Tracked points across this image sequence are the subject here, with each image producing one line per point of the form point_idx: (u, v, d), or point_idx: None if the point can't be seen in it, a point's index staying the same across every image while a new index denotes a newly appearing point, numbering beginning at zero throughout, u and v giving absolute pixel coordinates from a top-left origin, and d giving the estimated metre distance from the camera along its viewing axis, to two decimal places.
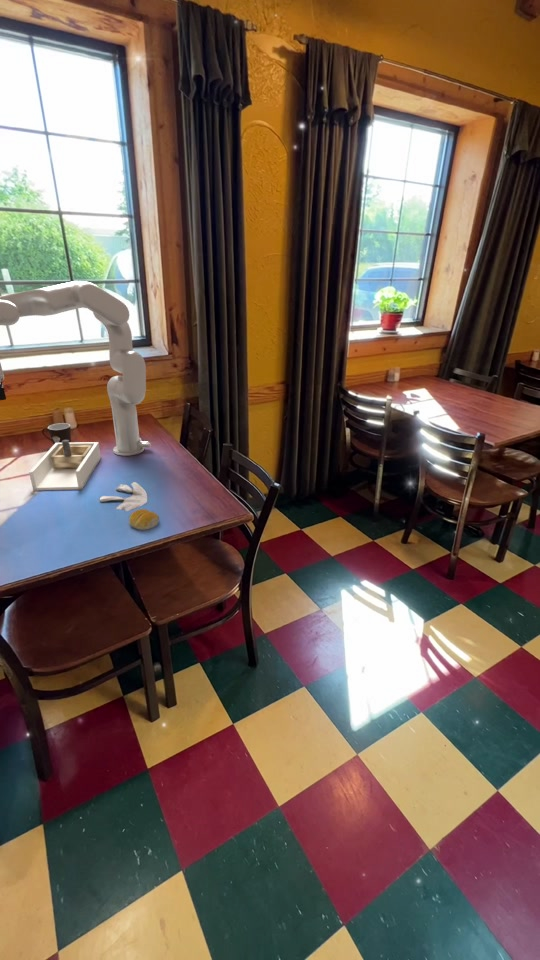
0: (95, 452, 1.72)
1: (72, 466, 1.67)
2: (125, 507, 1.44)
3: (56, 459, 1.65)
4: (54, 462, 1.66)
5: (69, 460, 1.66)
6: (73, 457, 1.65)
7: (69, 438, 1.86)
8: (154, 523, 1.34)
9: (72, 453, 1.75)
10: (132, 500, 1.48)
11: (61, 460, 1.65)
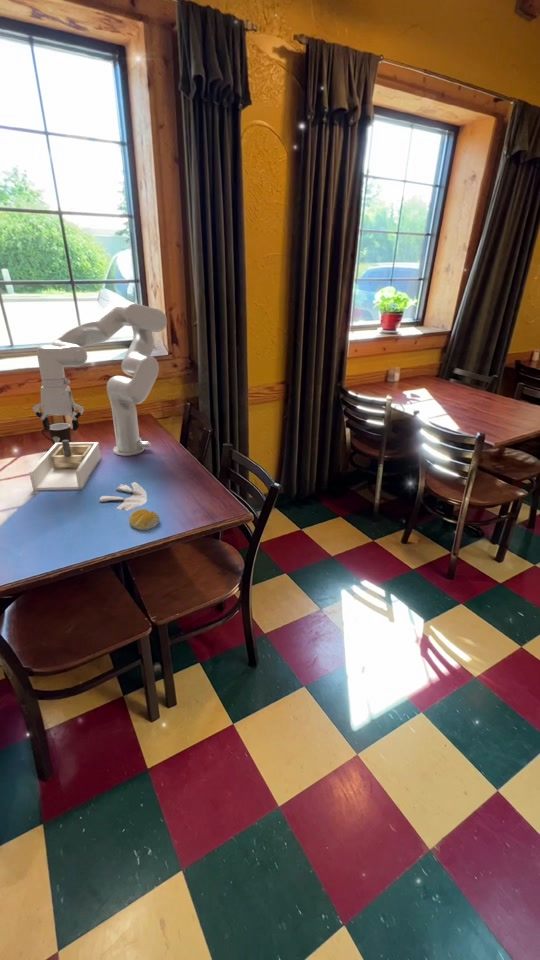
0: (95, 452, 1.72)
1: (72, 466, 1.67)
2: (125, 507, 1.44)
3: (56, 459, 1.65)
4: (54, 462, 1.66)
5: (69, 460, 1.66)
6: (73, 457, 1.65)
7: (69, 438, 1.86)
8: (154, 523, 1.34)
9: (72, 453, 1.75)
10: (132, 500, 1.48)
11: (61, 460, 1.65)
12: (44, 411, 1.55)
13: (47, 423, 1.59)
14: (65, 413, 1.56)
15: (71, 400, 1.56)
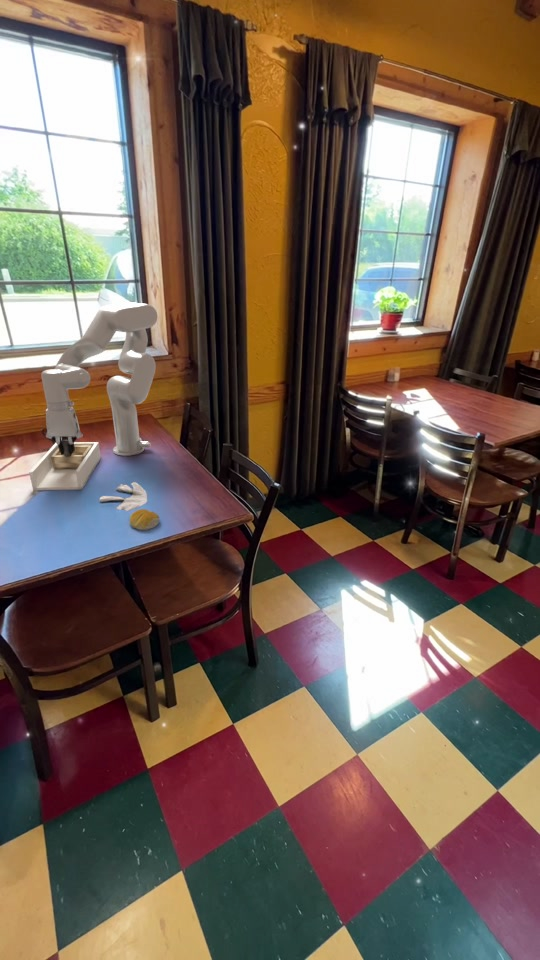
0: (95, 452, 1.72)
1: (72, 466, 1.67)
2: (125, 507, 1.44)
3: (56, 459, 1.65)
4: (54, 462, 1.66)
5: (69, 460, 1.66)
6: (73, 457, 1.65)
7: None
8: (154, 523, 1.34)
9: None
10: (132, 500, 1.48)
11: (61, 460, 1.65)
12: (49, 433, 1.59)
13: (62, 447, 1.63)
14: (70, 434, 1.60)
15: (75, 421, 1.60)
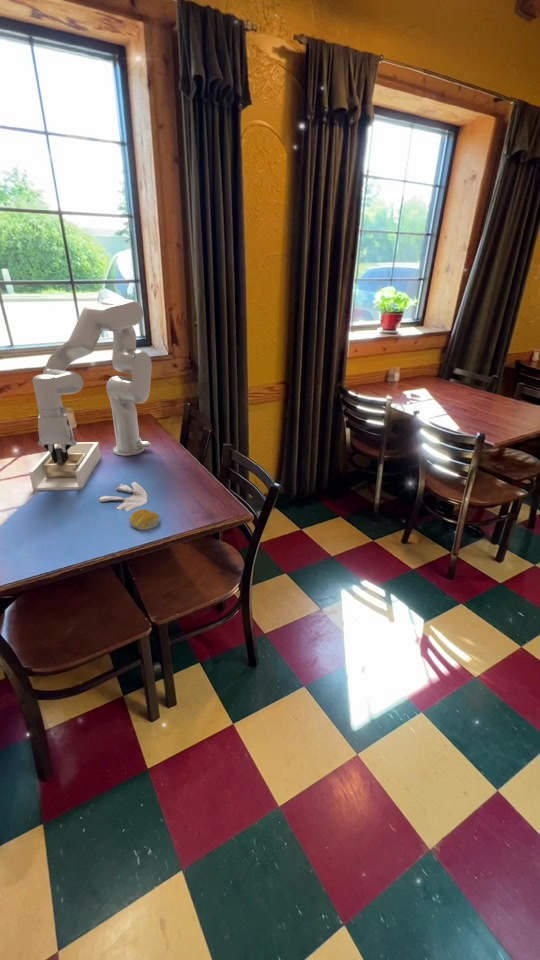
0: (95, 452, 1.72)
1: (66, 475, 1.60)
2: (125, 507, 1.44)
3: (49, 467, 1.58)
4: (47, 470, 1.59)
5: (63, 469, 1.59)
6: (67, 465, 1.58)
7: None
8: (155, 523, 1.34)
9: (66, 461, 1.68)
10: (132, 500, 1.48)
11: (54, 469, 1.58)
12: (42, 440, 1.52)
13: None
14: (63, 442, 1.53)
15: (69, 429, 1.53)
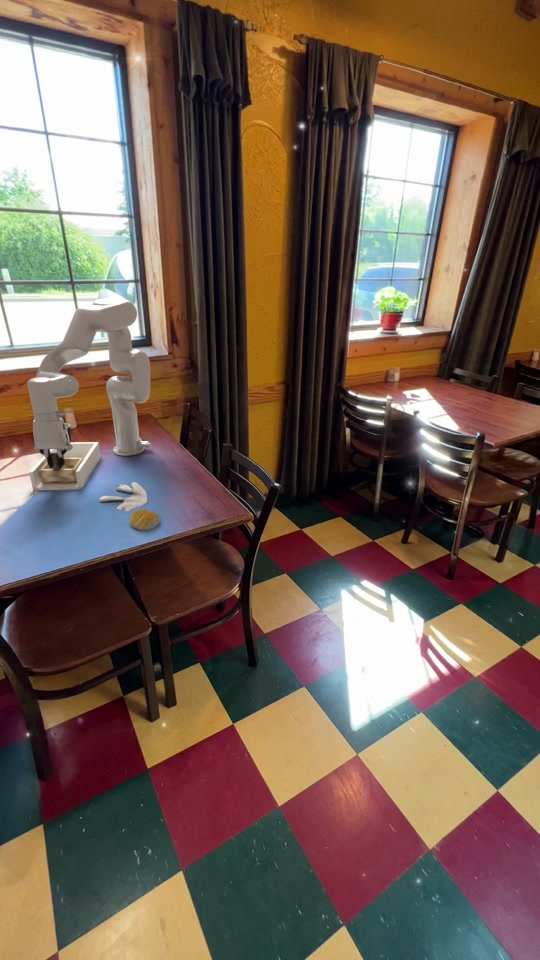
0: (95, 452, 1.72)
1: (62, 480, 1.56)
2: (125, 507, 1.44)
3: (45, 473, 1.54)
4: (43, 476, 1.55)
5: (59, 474, 1.55)
6: (63, 471, 1.54)
7: (69, 438, 1.86)
8: (155, 523, 1.34)
9: None
10: (132, 500, 1.48)
11: (50, 474, 1.54)
12: (37, 445, 1.48)
13: (51, 460, 1.52)
14: (59, 447, 1.49)
15: (65, 433, 1.49)
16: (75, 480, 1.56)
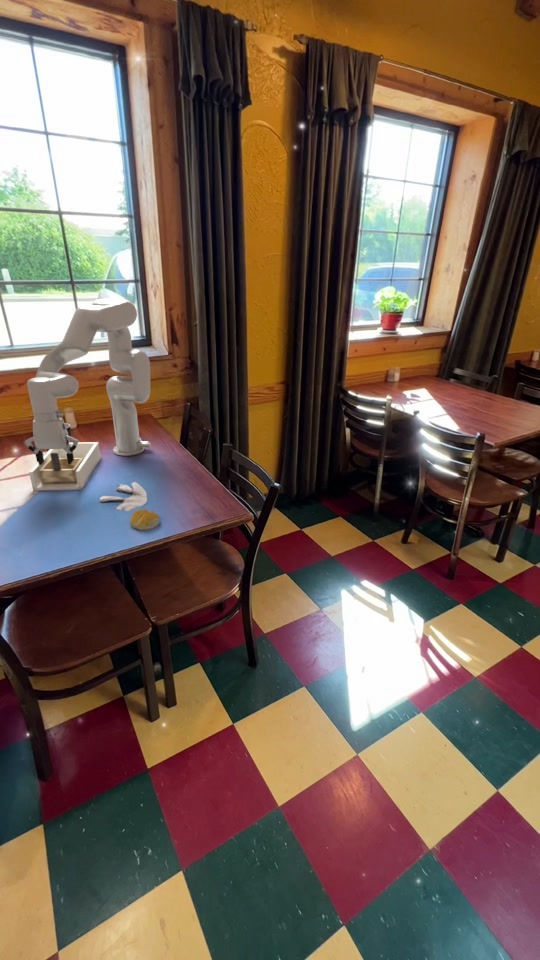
0: (95, 452, 1.72)
1: (62, 480, 1.56)
2: (125, 507, 1.44)
3: (44, 473, 1.54)
4: (43, 476, 1.54)
5: (58, 474, 1.55)
6: (63, 471, 1.54)
7: None
8: (155, 523, 1.34)
9: (62, 466, 1.64)
10: (132, 500, 1.48)
11: (50, 474, 1.54)
12: (37, 445, 1.48)
13: (41, 457, 1.51)
14: (59, 447, 1.49)
15: (65, 433, 1.49)
16: (75, 480, 1.56)
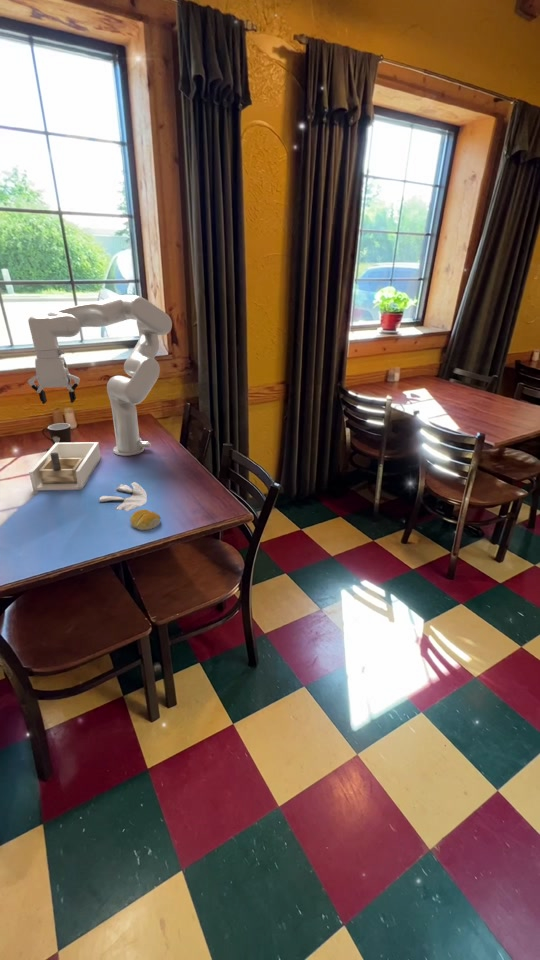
0: (95, 452, 1.72)
1: (62, 480, 1.56)
2: (125, 507, 1.44)
3: (44, 473, 1.54)
4: (43, 476, 1.54)
5: (58, 474, 1.55)
6: (63, 471, 1.54)
7: (69, 438, 1.86)
8: (156, 523, 1.34)
9: (62, 466, 1.64)
10: (132, 500, 1.48)
11: (50, 474, 1.54)
12: (40, 384, 1.54)
13: (44, 396, 1.57)
14: (61, 385, 1.55)
15: (66, 371, 1.55)
16: (75, 480, 1.56)
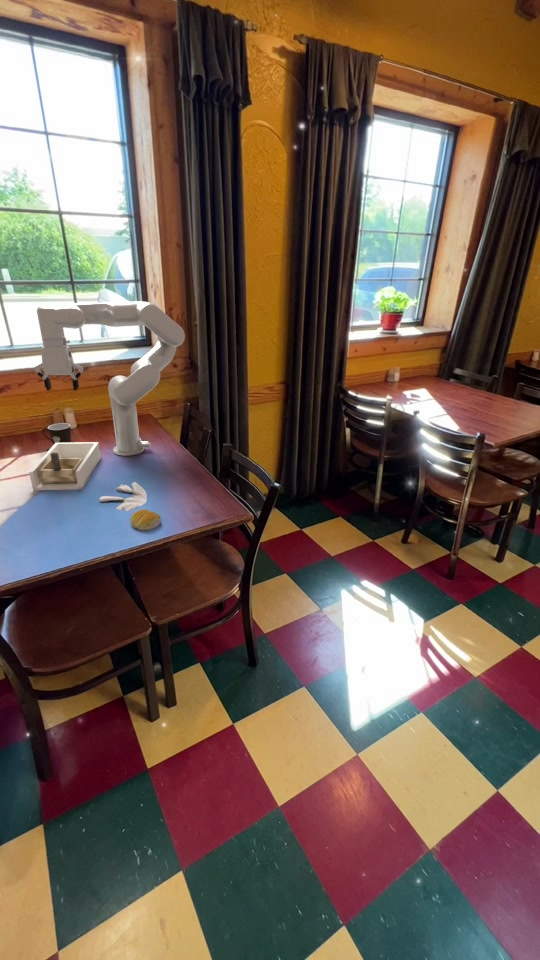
0: (95, 452, 1.72)
1: (62, 480, 1.56)
2: (125, 507, 1.44)
3: (44, 473, 1.54)
4: (43, 476, 1.54)
5: (58, 474, 1.55)
6: (63, 471, 1.54)
7: (69, 438, 1.86)
8: (156, 523, 1.34)
9: (62, 466, 1.64)
10: (132, 500, 1.48)
11: (50, 474, 1.54)
12: (45, 371, 1.61)
13: (48, 383, 1.65)
14: (65, 373, 1.62)
15: (71, 360, 1.62)
16: (75, 480, 1.56)
